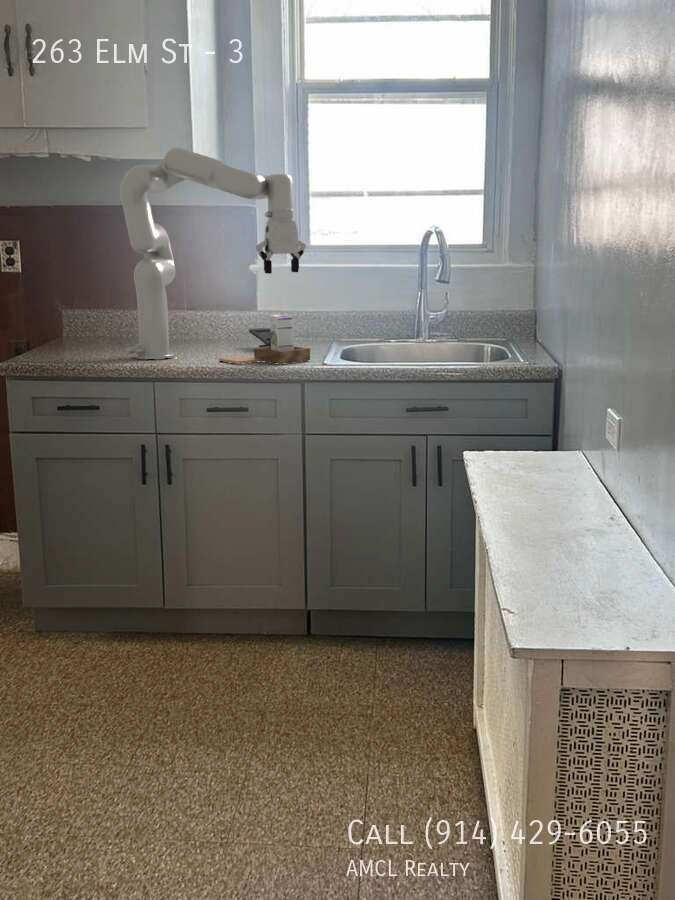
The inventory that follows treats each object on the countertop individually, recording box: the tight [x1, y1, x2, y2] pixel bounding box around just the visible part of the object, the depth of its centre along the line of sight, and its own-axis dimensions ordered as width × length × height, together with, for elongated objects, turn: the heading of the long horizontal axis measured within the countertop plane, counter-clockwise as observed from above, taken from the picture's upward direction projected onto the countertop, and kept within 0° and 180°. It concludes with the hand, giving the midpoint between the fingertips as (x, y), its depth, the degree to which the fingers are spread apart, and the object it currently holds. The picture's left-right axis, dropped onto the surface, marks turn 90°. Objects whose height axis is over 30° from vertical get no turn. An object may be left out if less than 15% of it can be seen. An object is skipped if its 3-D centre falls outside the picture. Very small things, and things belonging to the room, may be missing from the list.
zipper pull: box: [248, 327, 271, 348], centre depth 352 cm, size 9×7×25 cm
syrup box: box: [269, 313, 294, 351], centre depth 329 cm, size 6×6×14 cm
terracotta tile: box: [218, 355, 261, 365], centre depth 329 cm, size 10×10×1 cm
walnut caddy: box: [253, 345, 311, 364], centre depth 330 cm, size 12×12×4 cm
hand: (281, 272), depth 324 cm, fingers open, 9 cm apart
